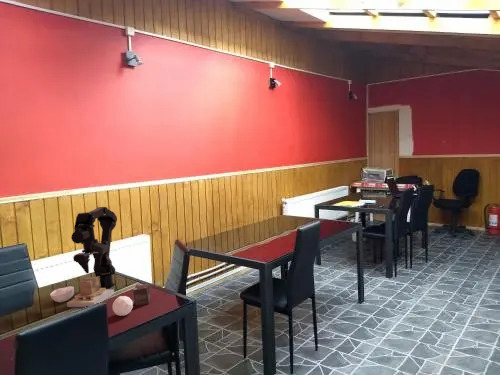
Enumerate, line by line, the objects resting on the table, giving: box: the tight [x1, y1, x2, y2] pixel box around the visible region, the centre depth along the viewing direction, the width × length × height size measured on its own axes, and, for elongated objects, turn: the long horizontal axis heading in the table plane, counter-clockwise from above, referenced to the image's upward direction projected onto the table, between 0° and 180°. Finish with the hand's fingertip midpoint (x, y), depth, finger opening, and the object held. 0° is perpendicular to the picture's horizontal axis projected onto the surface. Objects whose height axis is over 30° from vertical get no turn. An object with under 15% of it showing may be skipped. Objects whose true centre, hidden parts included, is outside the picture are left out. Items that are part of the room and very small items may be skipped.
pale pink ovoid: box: [112, 295, 135, 317], centre depth 172 cm, size 8×8×12 cm
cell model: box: [49, 285, 75, 303], centre depth 196 cm, size 10×12×7 cm
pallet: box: [73, 288, 107, 300], centre depth 193 cm, size 10×10×2 cm
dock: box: [66, 288, 115, 308], centre depth 193 cm, size 16×14×2 cm
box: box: [132, 283, 152, 306], centre depth 182 cm, size 6×6×7 cm
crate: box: [78, 276, 100, 294], centre depth 192 cm, size 6×6×6 cm
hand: (93, 270), depth 198 cm, fingers open, 9 cm apart
